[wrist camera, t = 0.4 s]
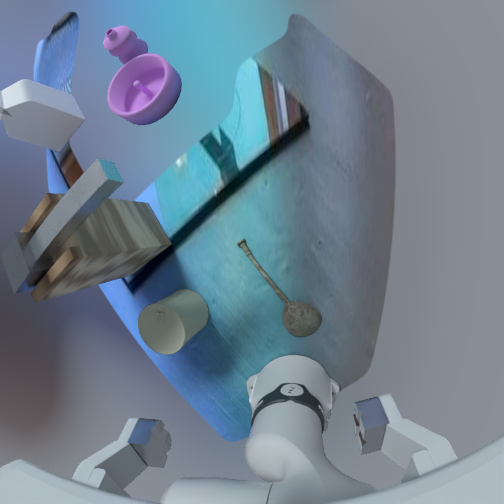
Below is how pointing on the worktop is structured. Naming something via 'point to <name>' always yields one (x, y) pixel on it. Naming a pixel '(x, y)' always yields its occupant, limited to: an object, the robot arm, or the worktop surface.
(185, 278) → the worktop surface
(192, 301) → the can
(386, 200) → the worktop surface
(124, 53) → the container set
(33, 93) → the milk
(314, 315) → the soupspoon
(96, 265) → the post
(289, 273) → the worktop surface
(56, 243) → the steel bar
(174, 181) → the worktop surface
